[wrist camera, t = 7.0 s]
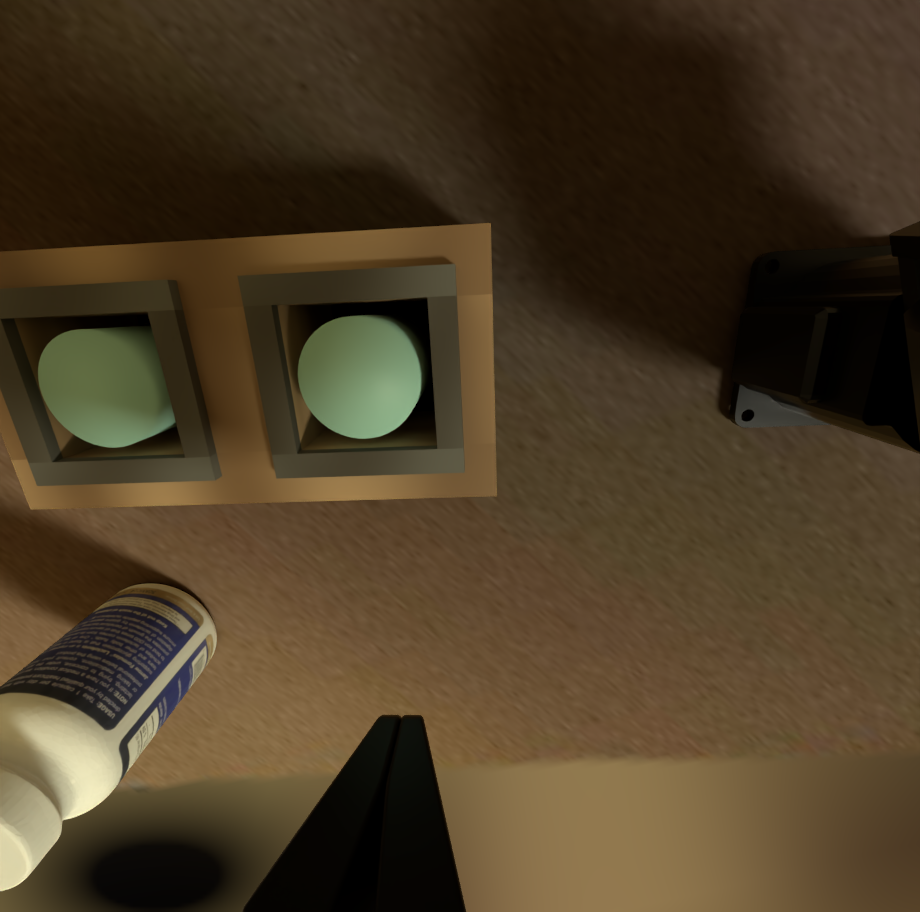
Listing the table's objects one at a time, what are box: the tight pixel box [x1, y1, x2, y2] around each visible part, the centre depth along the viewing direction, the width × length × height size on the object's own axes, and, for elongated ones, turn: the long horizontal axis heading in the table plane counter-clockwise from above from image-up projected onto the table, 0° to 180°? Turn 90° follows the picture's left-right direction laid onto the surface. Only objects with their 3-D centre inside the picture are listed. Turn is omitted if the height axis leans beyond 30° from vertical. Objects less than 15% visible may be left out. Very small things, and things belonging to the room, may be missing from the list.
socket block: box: [0, 223, 497, 509], centre depth 16 cm, size 16×8×5 cm, turn 93°
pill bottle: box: [0, 583, 217, 891], centre depth 18 cm, size 6×6×10 cm
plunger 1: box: [38, 325, 177, 448], centre depth 16 cm, size 4×4×5 cm
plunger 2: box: [298, 313, 433, 439], centre depth 15 cm, size 4×4×5 cm
